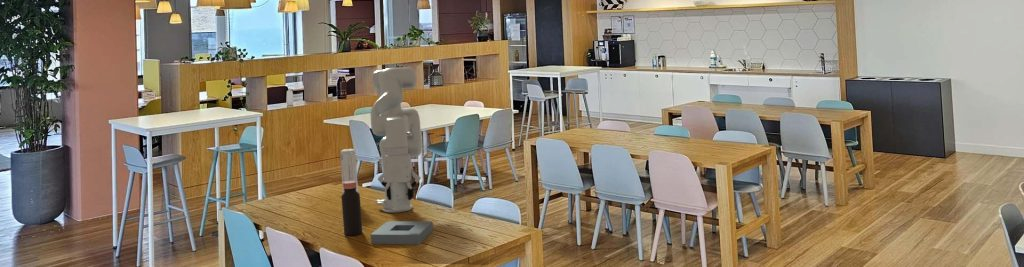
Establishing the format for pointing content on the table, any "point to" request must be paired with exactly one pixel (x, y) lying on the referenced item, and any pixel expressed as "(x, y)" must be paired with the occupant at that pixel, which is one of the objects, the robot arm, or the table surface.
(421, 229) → the socket block
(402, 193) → the skincare box
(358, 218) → the bottle
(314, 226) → the table surface
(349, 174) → the air filter
